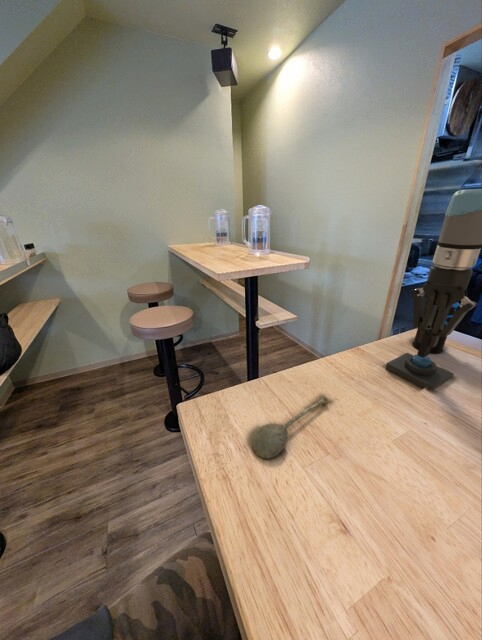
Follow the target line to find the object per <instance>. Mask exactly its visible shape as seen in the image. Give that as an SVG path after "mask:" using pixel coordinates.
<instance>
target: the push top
mask: <svg viewBox="0 0 482 640" xmlns="http://www.w3.org/2000/svg"><path fill="white" fill-rule="evenodd" d="M417 354H418V353H417ZM417 354H413V355H414V356H413V359H412V363H413V364H415V365H417V366H419V367H424V368H428V367H429V366H430V363H431V360H432V359H431V358H430V357H429V356H428V355H427V356H426V357H424V358H422V357H420V356H418V355H417Z"/></svg>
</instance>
